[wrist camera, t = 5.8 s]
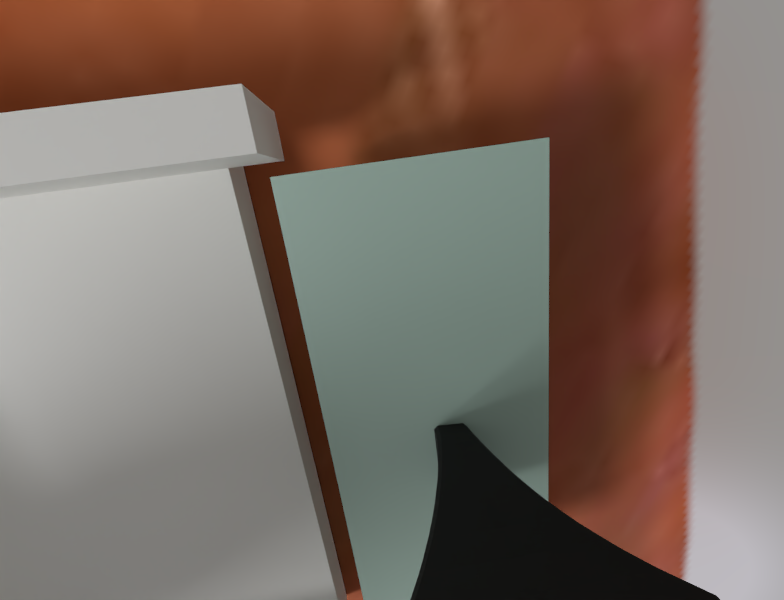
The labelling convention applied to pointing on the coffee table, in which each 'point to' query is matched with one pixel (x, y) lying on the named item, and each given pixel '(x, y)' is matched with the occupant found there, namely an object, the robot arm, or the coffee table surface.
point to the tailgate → (422, 329)
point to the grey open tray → (148, 362)
